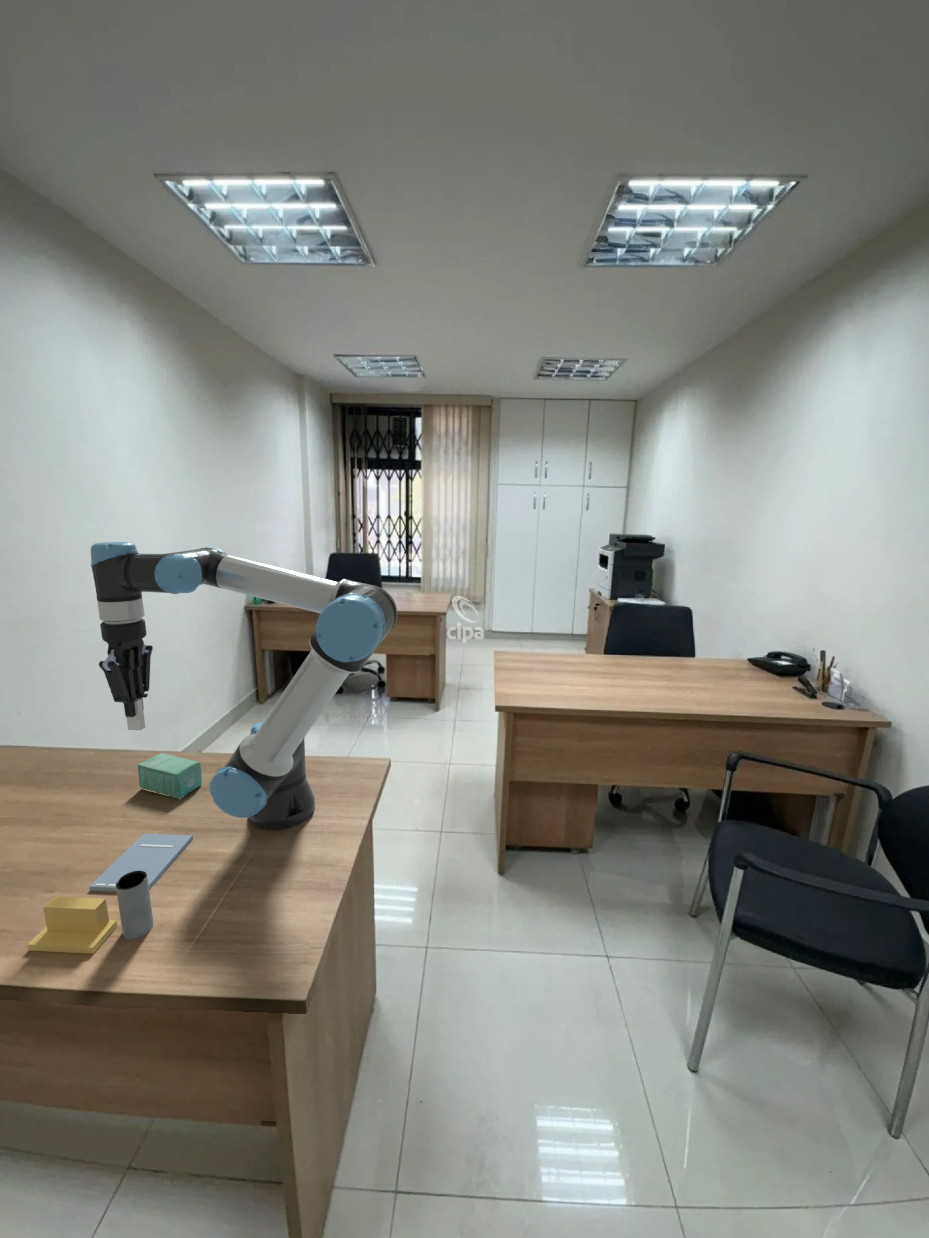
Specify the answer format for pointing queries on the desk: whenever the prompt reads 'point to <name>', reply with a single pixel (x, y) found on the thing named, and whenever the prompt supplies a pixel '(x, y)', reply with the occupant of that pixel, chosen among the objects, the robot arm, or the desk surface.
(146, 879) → the gray cylinder
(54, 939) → the yellow stepped block
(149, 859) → the ticket
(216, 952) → the desk surface
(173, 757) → the box
